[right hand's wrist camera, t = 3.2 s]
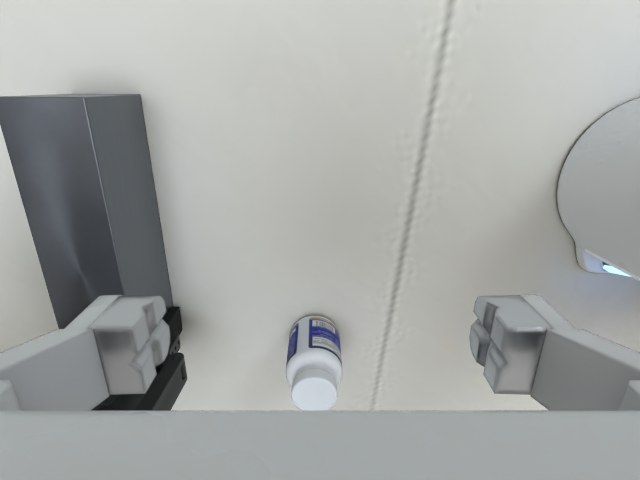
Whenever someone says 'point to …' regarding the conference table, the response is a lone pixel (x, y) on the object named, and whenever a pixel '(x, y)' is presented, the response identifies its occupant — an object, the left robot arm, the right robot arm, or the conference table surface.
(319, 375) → the pill bottle
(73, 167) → the bar
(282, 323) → the conference table surface
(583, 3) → the conference table surface
